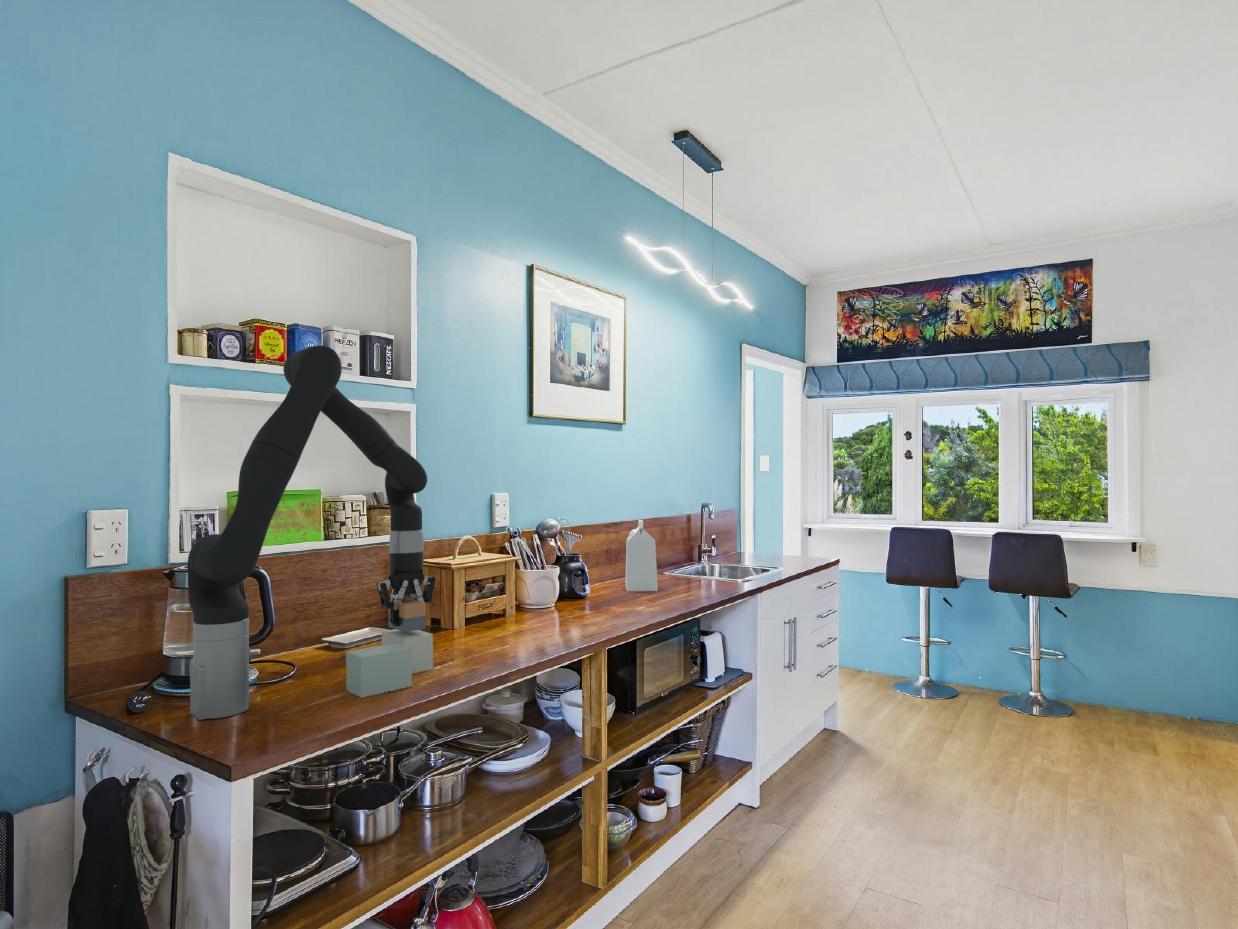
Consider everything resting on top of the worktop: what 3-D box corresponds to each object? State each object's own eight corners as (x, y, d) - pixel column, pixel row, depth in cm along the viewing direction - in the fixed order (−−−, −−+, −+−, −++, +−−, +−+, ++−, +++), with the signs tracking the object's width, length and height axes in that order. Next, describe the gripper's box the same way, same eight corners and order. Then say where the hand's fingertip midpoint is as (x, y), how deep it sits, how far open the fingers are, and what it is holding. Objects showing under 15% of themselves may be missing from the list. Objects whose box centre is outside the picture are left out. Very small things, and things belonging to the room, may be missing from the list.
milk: (657, 591, 277) (657, 521, 277) (627, 591, 276) (626, 521, 276) (654, 586, 289) (654, 519, 289) (625, 586, 288) (624, 519, 288)
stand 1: (361, 697, 147) (361, 657, 147) (346, 690, 152) (346, 651, 153) (412, 686, 155) (411, 648, 155) (396, 679, 160) (396, 642, 160)
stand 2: (404, 675, 164) (404, 639, 164) (381, 666, 172) (381, 631, 172) (432, 669, 168) (432, 634, 168) (409, 660, 176) (409, 627, 176)
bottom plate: (388, 626, 171) (388, 613, 171) (408, 623, 175) (408, 610, 175) (405, 632, 165) (405, 618, 165) (425, 628, 169) (425, 615, 169)
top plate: (388, 613, 171) (388, 596, 171) (408, 610, 175) (408, 593, 175) (405, 618, 165) (405, 600, 165) (425, 615, 169) (425, 598, 169)
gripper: (426, 546, 178) (426, 617, 178) (369, 551, 168) (369, 626, 168) (442, 548, 172) (442, 622, 172) (384, 553, 163) (384, 631, 162)
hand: (406, 623), depth 170 cm, fingers closed on bottom plate, top plate, 5 cm apart
